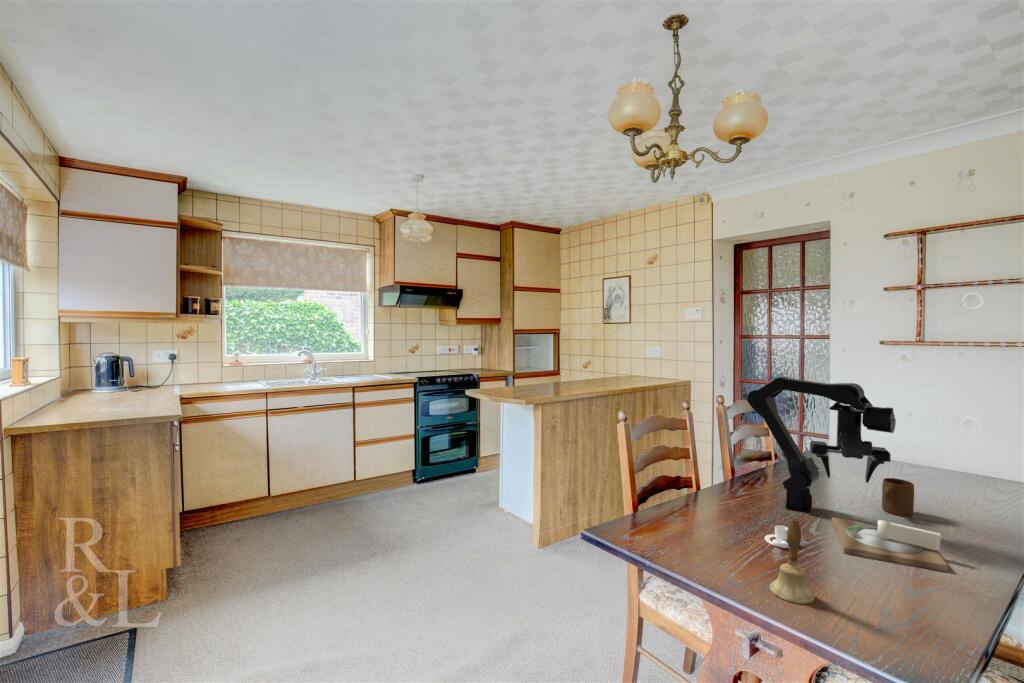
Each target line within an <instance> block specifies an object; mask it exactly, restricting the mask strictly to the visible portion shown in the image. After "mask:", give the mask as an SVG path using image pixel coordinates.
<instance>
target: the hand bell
mask: <svg viewBox="0 0 1024 683" xmlns="http://www.w3.org/2000/svg"><path fill="white" fill-rule="evenodd" d="M787 528H788V530H787V543H788V546H789V548H788V557H787V563H782V564H781V565H780V568H779V572H778V576H777V578H776V579H775V580H774V581H772V582H771V583H770V585H769V590H770V592H771V593H772V594H773V595H775V596H776V597H778V598H780V599H782V600H784V601H787V602H790V603H794V604H798V605H799V604H800V605H805V604H807V605H808V604H811V603H813V602H814V601H815V595H814V594H813V592H812V591H811V590H810V589H809V587H808V583H807V582H806V575H805V574H806V573H805V570H804V568H802V567H801V566H799V565H798V561H799V560H798V557H799V556H798V551H799V546H800V544H801V540H802V530H801V526H800V523H799V520H798V519H797V518H791V519H790V522H789V525H788V527H787Z"/></svg>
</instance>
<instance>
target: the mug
mask: <svg viewBox="0 0 1024 683" xmlns="http://www.w3.org/2000/svg"><path fill="white" fill-rule="evenodd" d="M914 507H915V485H914V483H913V482H911V481H908V480H905V479H901V478H893V477H886V478H883V480H882V487H881V508H882V510H883V511H884V512H886V513H887V514H888V513H889V514H890V515H895V516H901V517H911V516H913V515H914V511H915V510H914Z"/></svg>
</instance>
